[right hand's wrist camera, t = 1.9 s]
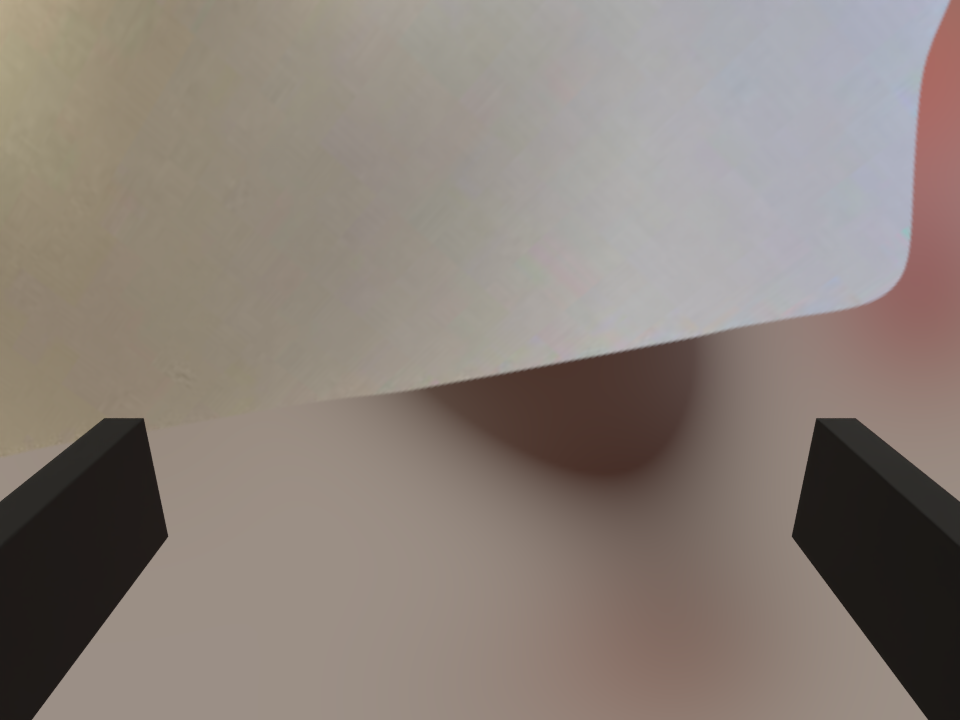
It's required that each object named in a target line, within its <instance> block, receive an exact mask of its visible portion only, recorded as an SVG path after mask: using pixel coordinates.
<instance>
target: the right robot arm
mask: <svg viewBox="0 0 960 720" xmlns="http://www.w3.org/2000/svg"><path fill="white" fill-rule="evenodd" d="M167 537H168V533H167V529H166V524H165V519H164V514H163V509H162V505H161V500H160V495H159V490H158V485H157V480H156V475H155V471H154V466H153V461H152V456H151V452H150V447H149V442H148V437H147V432H146V427H145V422H144V418H104V419H103V420H102V421H100V422H99V423H98V424H97V425H95V426H94V427H93V428H92V429H90V430H89V431H88V432H87V433H85V434H84V435H83V436H82V437H80V438H79V439H78V440H77V441H75V442H74V443H73V444H72V445H70V446H69V447H68V448H67V449H65V450H64V451H63V452H62V453H61V454H59V455H58V456H57V457H56V458H54V459H53V460H52V461H50V462H49V463H48V464H47V465H46V466H44V467H43V468H42V469H41V470H39V471H38V472H37V473H36V474H34V475H33V476H32V477H31V478H29V479H28V480H27V481H26V482H24V483H23V484H22V485H21V486H19V487H18V488H17V489H16V490H14V491H13V492H12V493H11V494H9V495H8V496H7V497H6V498H4V499H3V500H2V501H1V502H0V720H32V719H33V717H34V716H35V715H36V713H37V712H38V711H39V709H40V708H41V707H42V705H43V704H44V703H45V701H46V700H47V699H48V697H49V696H50V695H51V693H52V692H53V691H54V689H55V688H56V687H57V685H58V684H59V683H60V681H61V680H62V679H63V677H64V676H65V674H66V673H67V672H68V670H69V669H70V668H71V666H72V665H73V664H74V662H75V661H76V660H77V658H78V657H79V656H80V654H81V653H82V652H83V650H84V649H85V648H86V646H87V645H88V644H89V642H90V641H91V639H92V638H93V637H94V636H95V634H96V633H97V631H98V630H99V629H100V627H101V626H102V625H103V623H104V622H105V621H106V619H107V618H108V617H109V615H110V614H111V613H112V611H113V610H114V609H115V607H116V606H117V605H118V603H119V602H120V600H121V599H122V598H123V597H124V595H125V594H126V592H127V591H128V590H129V589H130V587H131V586H132V584H133V583H134V582H135V580H136V579H137V578H138V576H139V575H140V574H141V572H142V571H143V570H144V568H145V567H146V566H147V564H148V563H149V562H150V560H151V559H152V558H153V556H154V555H155V554H156V552H157V551H158V550H159V548H160V547H161V546H162V544H163V543H164V541H165V540H166V539H167ZM792 537H793V539H794V540H795V542H796V543H797V544H798V546H799V547H800V548H801V550H802V551H803V552H804V554H805V555H806V556H807V558H808V559H809V560H810V562H811V563H812V564H813V566H814V567H815V568H816V570H817V571H818V572H819V574H820V575H821V576H822V578H823V579H824V580H825V582H826V583H827V584H828V586H829V587H830V588H831V590H832V591H833V593H834V594H835V595H836V597H837V598H838V599H839V601H840V602H841V603H842V604H843V606H844V607H845V609H846V610H847V611H848V613H849V614H850V615H851V617H852V618H853V619H854V621H855V622H856V623H857V625H858V626H859V627H860V629H861V630H862V632H863V633H864V634H865V636H866V637H867V638H868V640H869V641H870V642H871V644H872V645H873V646H874V648H875V649H876V650H877V652H878V653H879V654H880V656H881V657H882V658H883V660H884V661H885V662H886V664H887V665H888V666H889V668H890V669H891V670H892V672H893V673H894V674H895V676H896V677H897V678H898V680H899V681H900V683H901V684H902V685H903V687H904V688H905V689H906V691H907V692H908V693H909V695H910V696H911V697H912V699H913V700H914V701H915V703H916V704H917V705H918V707H919V708H920V709H921V711H922V712H923V713H924V715H925V716H926V717H927V719H928V720H960V502H959V501H958V500H957V499H956V498H954V497H953V496H952V495H951V494H949V493H948V492H947V491H946V490H944V489H943V488H942V487H941V486H939V485H938V484H937V483H936V482H934V481H933V480H932V479H931V478H929V477H928V476H927V475H926V474H924V473H923V472H922V471H921V470H919V469H918V468H917V467H916V466H914V465H913V464H912V463H911V462H909V461H908V460H907V459H906V458H904V457H903V456H902V455H901V454H900V453H898V452H897V451H896V450H894V449H893V448H892V447H891V446H890V445H888V444H887V443H886V442H885V441H883V440H882V439H881V438H879V437H878V436H877V435H876V434H875V433H873V432H872V431H871V430H870V429H868V428H867V427H866V426H864V425H863V424H862V423H861V422H859V421H858V420H857V419H856V418H817V419H816V422H815V427H814V432H813V437H812V442H811V447H810V451H809V456H808V461H807V466H806V471H805V476H804V480H803V485H802V490H801V495H800V500H799V504H798V509H797V514H796V519H795V524H794V528H793V533H792Z"/></svg>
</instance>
